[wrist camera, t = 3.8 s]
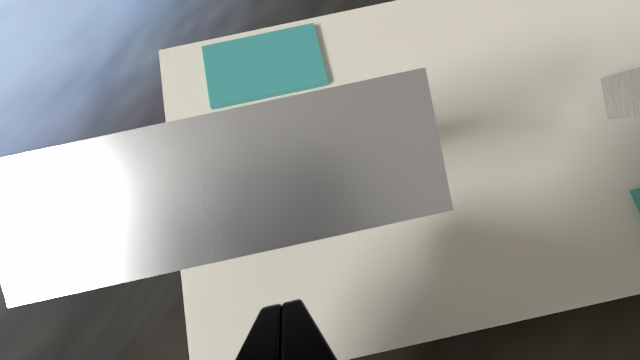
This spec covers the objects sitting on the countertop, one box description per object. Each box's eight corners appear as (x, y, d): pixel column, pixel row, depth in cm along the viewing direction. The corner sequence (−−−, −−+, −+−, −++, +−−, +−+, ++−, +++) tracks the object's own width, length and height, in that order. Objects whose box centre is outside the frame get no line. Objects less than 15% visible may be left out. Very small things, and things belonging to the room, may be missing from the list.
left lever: (352, 174, 14) (453, 210, 4) (222, 203, 14) (8, 307, 4) (343, 133, 14) (424, 66, 4) (212, 161, 14) (-32, 164, 4)
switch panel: (785, 250, 16) (878, 241, 13) (215, 377, 15) (189, 396, 12) (633, -16, 20) (680, -64, 17) (181, 80, 19) (155, 46, 16)
